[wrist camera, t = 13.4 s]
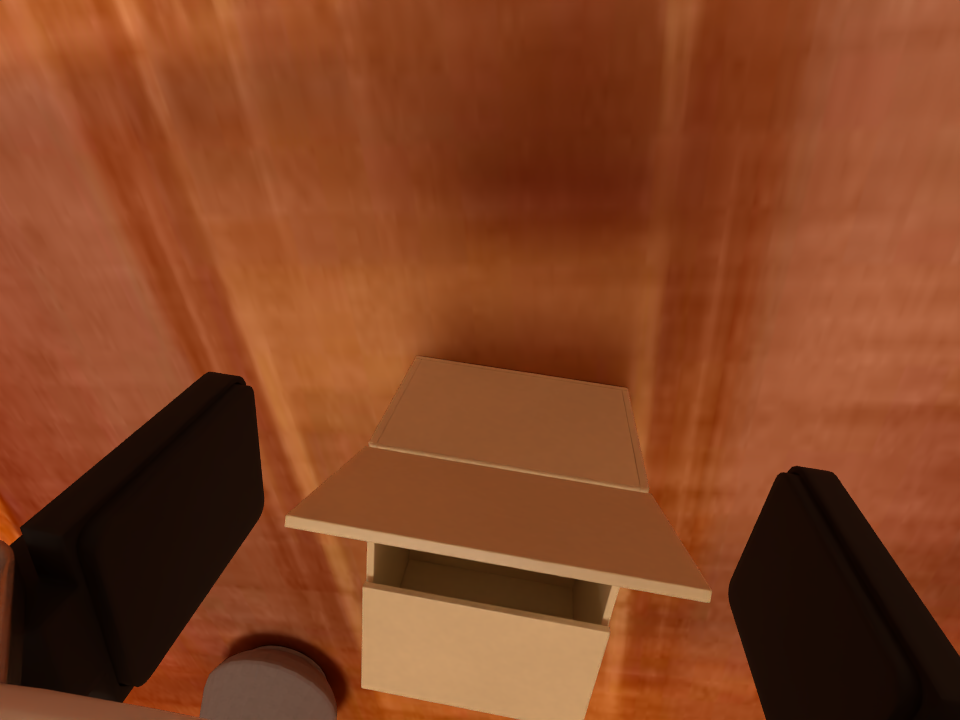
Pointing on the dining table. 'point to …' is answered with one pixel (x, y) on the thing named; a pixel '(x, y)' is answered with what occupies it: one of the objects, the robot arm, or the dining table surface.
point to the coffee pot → (268, 688)
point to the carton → (488, 587)
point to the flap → (504, 521)
